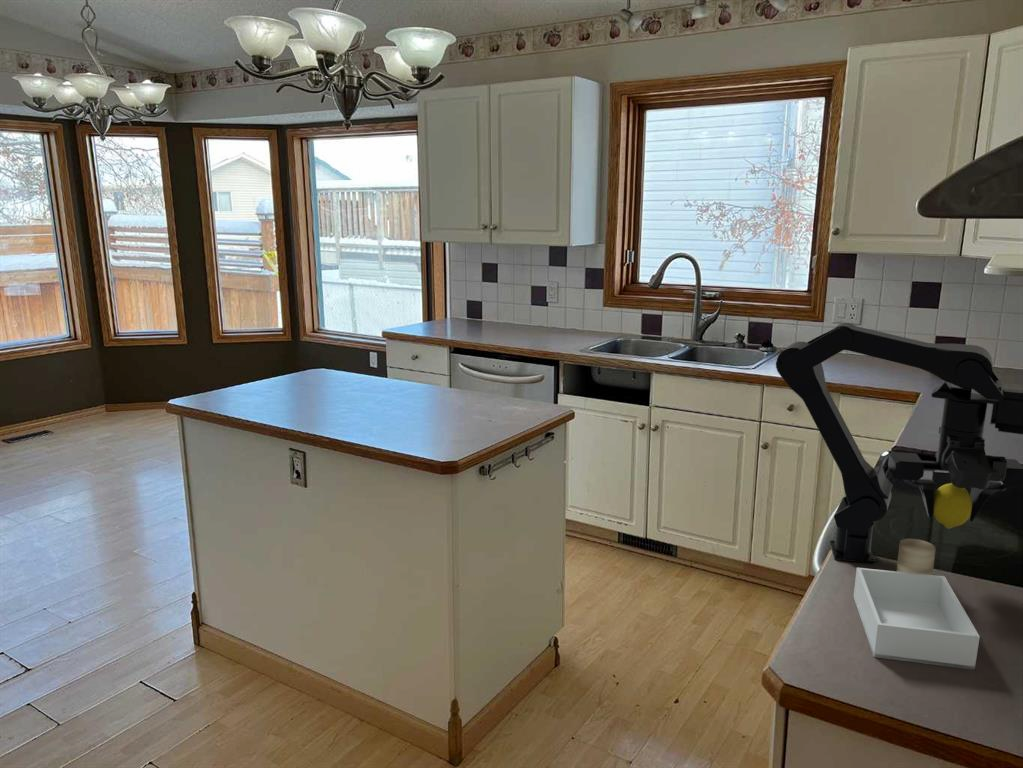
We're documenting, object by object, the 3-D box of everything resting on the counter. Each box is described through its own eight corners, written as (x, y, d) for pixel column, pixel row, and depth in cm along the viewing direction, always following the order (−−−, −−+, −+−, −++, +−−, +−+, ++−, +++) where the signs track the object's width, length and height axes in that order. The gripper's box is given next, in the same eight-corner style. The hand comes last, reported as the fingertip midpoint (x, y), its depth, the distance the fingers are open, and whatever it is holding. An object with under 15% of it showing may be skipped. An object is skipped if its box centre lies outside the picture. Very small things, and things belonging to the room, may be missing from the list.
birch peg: (892, 576, 122) (896, 537, 121) (926, 580, 121) (931, 540, 119) (898, 591, 118) (903, 550, 116) (934, 595, 116) (939, 554, 115)
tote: (853, 596, 116) (856, 567, 115) (940, 605, 113) (944, 576, 112) (873, 656, 102) (877, 624, 100) (974, 669, 98) (979, 636, 97)
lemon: (973, 537, 118) (980, 490, 116) (935, 534, 119) (941, 488, 117) (960, 522, 123) (967, 476, 121) (924, 520, 124) (930, 475, 122)
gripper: (909, 439, 111) (897, 535, 115) (1052, 447, 107) (1035, 547, 111) (892, 417, 122) (882, 506, 126) (1022, 424, 117) (1008, 516, 121)
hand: (949, 519), depth 120 cm, fingers closed on lemon, 5 cm apart
